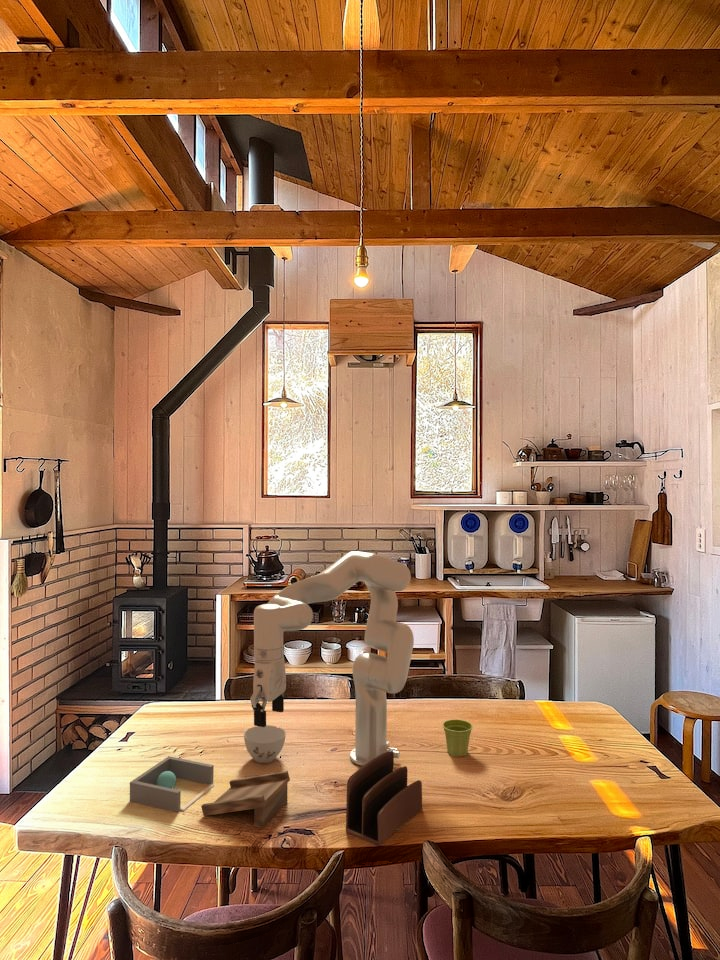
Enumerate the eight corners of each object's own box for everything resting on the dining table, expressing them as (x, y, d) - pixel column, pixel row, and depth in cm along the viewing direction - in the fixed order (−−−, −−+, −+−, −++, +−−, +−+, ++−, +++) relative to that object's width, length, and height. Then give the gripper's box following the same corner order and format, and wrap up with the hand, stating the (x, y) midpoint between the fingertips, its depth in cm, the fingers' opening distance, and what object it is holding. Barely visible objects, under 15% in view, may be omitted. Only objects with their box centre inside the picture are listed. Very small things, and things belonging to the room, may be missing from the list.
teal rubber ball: (183, 777, 166) (170, 764, 168) (171, 785, 162) (158, 772, 163) (173, 790, 168) (161, 776, 169) (162, 798, 163) (149, 785, 164)
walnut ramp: (290, 801, 160) (290, 771, 160) (263, 830, 147) (264, 797, 147) (231, 788, 166) (231, 759, 166) (201, 815, 153) (201, 783, 153)
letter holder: (345, 832, 147) (345, 774, 147) (390, 798, 163) (391, 745, 163) (379, 847, 141) (379, 787, 141) (423, 810, 157) (423, 755, 157)
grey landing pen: (216, 783, 169) (216, 765, 169) (180, 813, 154) (180, 793, 154) (168, 773, 175) (168, 756, 175) (129, 801, 160) (129, 782, 160)
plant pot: (437, 755, 187) (437, 727, 187) (448, 743, 196) (448, 716, 196) (467, 762, 183) (467, 733, 183) (476, 750, 191) (476, 722, 191)
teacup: (279, 770, 177) (280, 742, 177) (238, 767, 179) (238, 740, 178) (291, 747, 192) (291, 722, 192) (252, 745, 193) (252, 720, 193)
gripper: (265, 664, 148) (266, 734, 149) (296, 645, 165) (296, 708, 165) (238, 661, 151) (239, 730, 151) (271, 642, 167) (271, 704, 167)
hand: (269, 718), depth 158 cm, fingers open, 9 cm apart
